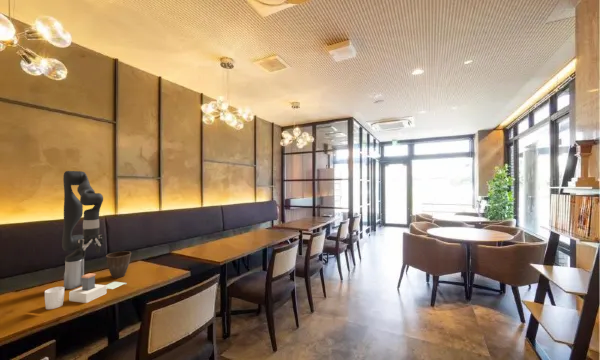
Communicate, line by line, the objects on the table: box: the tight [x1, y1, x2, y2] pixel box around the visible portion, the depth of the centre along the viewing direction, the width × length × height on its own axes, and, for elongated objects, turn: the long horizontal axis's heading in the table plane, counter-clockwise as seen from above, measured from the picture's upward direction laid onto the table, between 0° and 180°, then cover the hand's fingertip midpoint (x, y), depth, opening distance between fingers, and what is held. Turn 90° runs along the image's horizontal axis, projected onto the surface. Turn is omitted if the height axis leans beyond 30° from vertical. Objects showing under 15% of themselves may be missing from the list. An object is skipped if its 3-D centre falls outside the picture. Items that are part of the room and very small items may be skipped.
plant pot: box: [105, 250, 132, 279], centre depth 184 cm, size 15×15×16 cm
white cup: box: [44, 286, 65, 310], centre depth 138 cm, size 8×8×10 cm
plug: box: [81, 272, 97, 291], centre depth 149 cm, size 5×5×13 cm
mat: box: [106, 281, 127, 290], centre depth 166 cm, size 10×10×1 cm
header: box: [68, 283, 108, 304], centre depth 149 cm, size 12×12×6 cm
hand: (90, 254), depth 150 cm, fingers open, 8 cm apart
